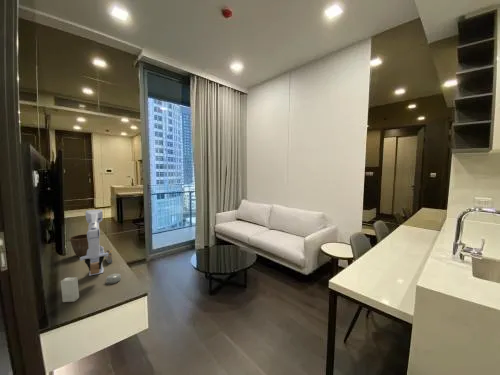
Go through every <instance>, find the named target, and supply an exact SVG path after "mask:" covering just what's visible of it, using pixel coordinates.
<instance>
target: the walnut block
mask: <svg viewBox="0 0 500 375" xmlns="http://www.w3.org/2000/svg"><path fill="white" fill-rule="evenodd" d="M89 272H90V274H95V275H97V274H96V273H99V272H100V269H99V262H95V263H91V264H90V271H89Z"/></svg>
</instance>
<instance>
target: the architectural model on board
mask: <svg viewBox="0 0 500 375" xmlns="http://www.w3.org/2000/svg"><path fill="white" fill-rule="evenodd" d="M112 252H113V250H112V249H111V250H110V249H106V250H104V253H108V256H107V257H106V256H105V257H104V258H105V261H106V262H108V263H109V264H112V263H113V254H112ZM111 262H112V263H111ZM108 263H107V264H108Z"/></svg>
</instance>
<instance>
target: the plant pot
mask: <svg viewBox="0 0 500 375" xmlns="http://www.w3.org/2000/svg"><path fill="white" fill-rule="evenodd" d="M69 240H70V241H69V242H70V245H71V247H72V251H73V252H74V254H75V256H76V257H77V256H78V257H79V258H80V256H81V257H83V256H87V250H88V249H89V247H88V239H87V233H83V234H77V235H74V236H71V237H69Z"/></svg>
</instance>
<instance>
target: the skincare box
mask: <svg viewBox="0 0 500 375" xmlns="http://www.w3.org/2000/svg"><path fill="white" fill-rule="evenodd" d="M60 289H61V297H62V298H61V299H62V303H71V302H72V303H74V302H75V301H78V299H79V298H80V291H79V281H78V276H75V277H65V278H63V279H61V280H60Z"/></svg>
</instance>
